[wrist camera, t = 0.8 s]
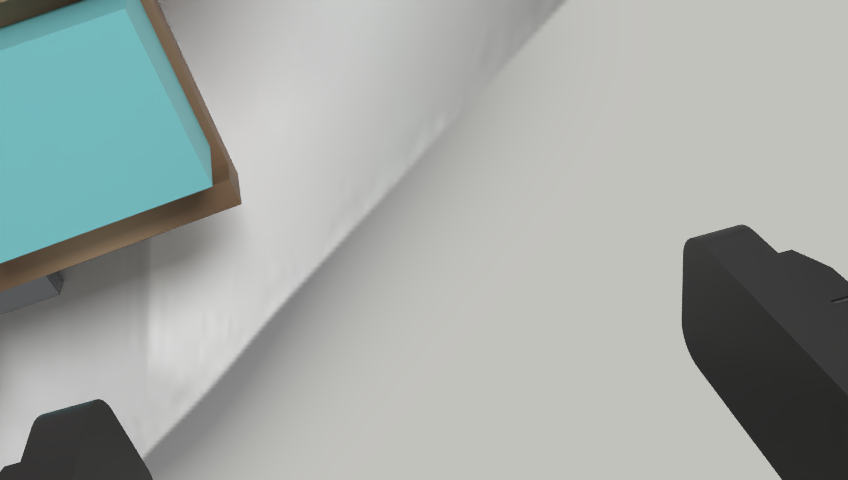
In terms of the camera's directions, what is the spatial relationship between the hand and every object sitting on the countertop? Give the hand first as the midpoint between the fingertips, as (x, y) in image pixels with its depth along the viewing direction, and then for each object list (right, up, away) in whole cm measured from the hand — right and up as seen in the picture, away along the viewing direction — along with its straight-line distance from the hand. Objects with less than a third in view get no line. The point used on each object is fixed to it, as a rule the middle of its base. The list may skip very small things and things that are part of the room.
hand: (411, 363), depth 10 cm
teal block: (-11, +6, +13) cm, 18 cm away
